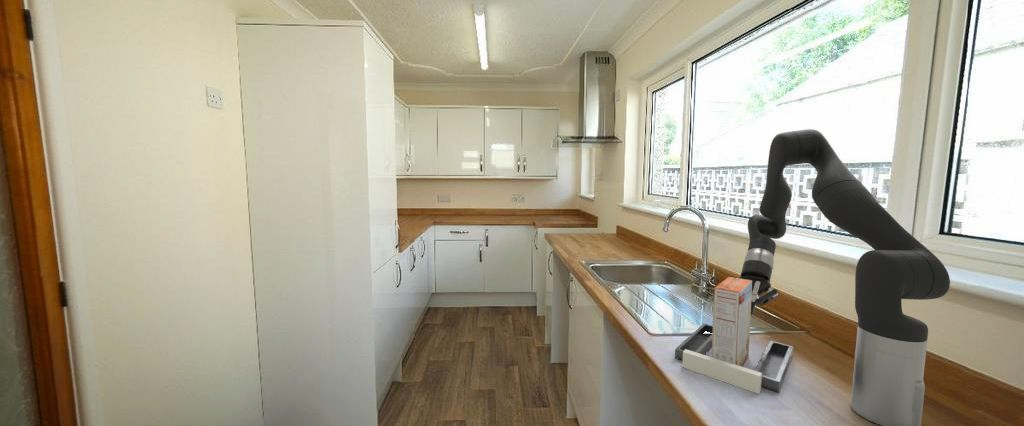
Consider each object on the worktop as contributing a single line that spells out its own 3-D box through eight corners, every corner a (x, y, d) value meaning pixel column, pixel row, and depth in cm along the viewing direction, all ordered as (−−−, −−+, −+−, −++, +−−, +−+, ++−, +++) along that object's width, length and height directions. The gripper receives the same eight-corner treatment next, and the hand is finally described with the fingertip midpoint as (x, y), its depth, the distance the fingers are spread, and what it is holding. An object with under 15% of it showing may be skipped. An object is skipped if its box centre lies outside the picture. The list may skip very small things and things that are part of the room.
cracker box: (723, 349, 98) (727, 275, 96) (749, 357, 94) (754, 280, 92) (708, 368, 88) (713, 286, 86) (736, 377, 84) (741, 291, 82)
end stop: (760, 390, 78) (762, 373, 78) (759, 394, 77) (760, 376, 77) (685, 364, 90) (685, 349, 89) (682, 367, 88) (682, 351, 88)
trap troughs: (792, 355, 95) (793, 346, 94) (778, 393, 77) (779, 382, 77) (703, 331, 110) (703, 323, 110) (674, 358, 93) (675, 349, 92)
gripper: (731, 256, 113) (719, 302, 105) (783, 262, 103) (774, 313, 96) (734, 269, 117) (723, 315, 109) (784, 276, 108) (776, 327, 100)
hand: (747, 314), depth 102 cm, fingers closed
